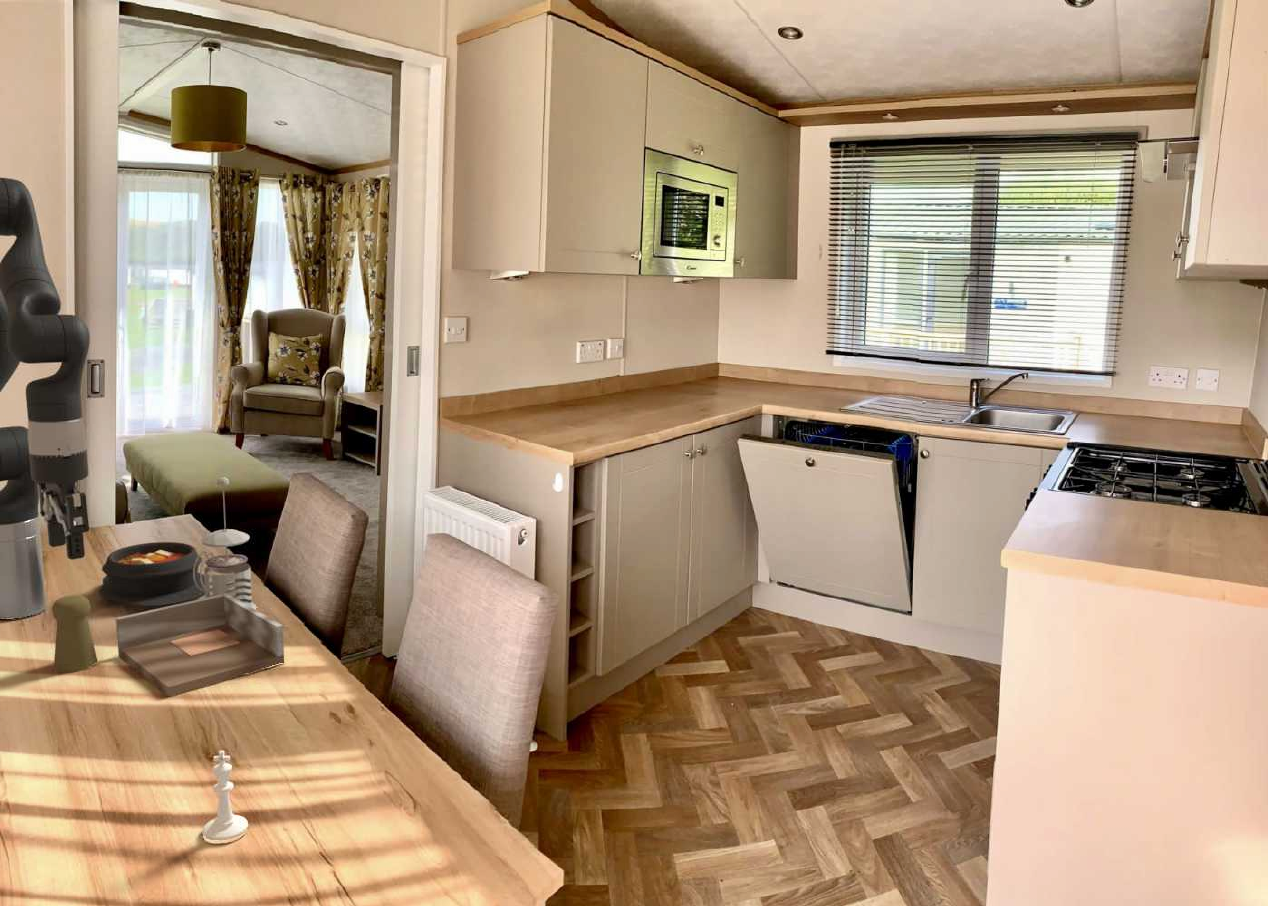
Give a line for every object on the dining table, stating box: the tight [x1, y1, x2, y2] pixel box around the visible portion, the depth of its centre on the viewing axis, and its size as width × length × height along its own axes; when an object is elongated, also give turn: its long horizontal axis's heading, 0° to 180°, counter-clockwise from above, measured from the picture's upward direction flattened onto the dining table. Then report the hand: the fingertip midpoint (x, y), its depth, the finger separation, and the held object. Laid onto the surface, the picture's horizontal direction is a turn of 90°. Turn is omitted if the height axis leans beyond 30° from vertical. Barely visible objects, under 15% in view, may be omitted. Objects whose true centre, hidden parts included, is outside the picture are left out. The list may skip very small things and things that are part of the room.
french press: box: [193, 477, 258, 610], centre depth 176 cm, size 10×12×25 cm
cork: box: [51, 594, 98, 673], centre depth 154 cm, size 6×6×11 cm
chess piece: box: [202, 750, 249, 841], centre depth 111 cm, size 5×5×10 cm
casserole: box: [98, 541, 205, 609], centre depth 186 cm, size 25×19×8 cm
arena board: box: [115, 593, 285, 698], centre depth 157 cm, size 20×18×6 cm
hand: (66, 552), depth 151 cm, fingers open, 8 cm apart
